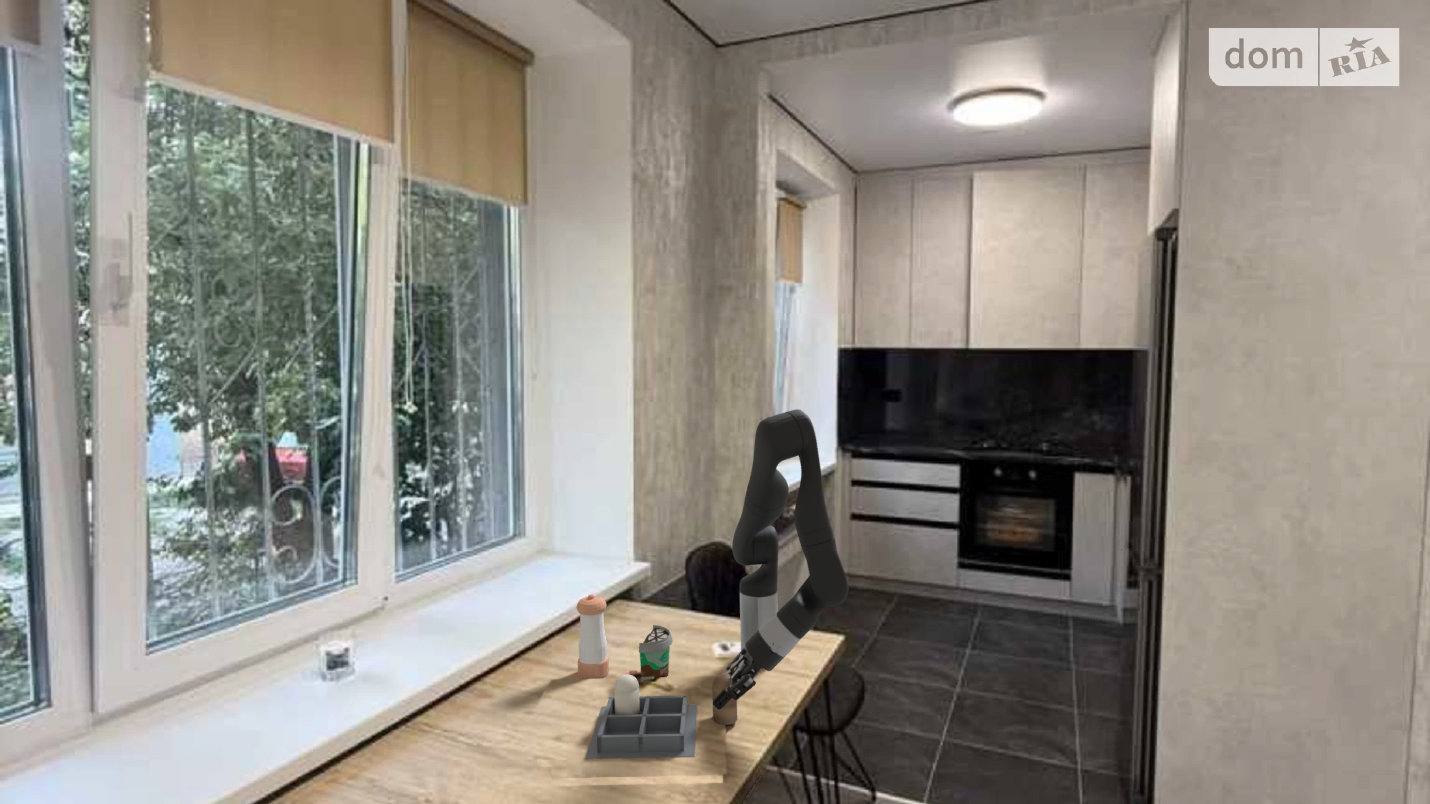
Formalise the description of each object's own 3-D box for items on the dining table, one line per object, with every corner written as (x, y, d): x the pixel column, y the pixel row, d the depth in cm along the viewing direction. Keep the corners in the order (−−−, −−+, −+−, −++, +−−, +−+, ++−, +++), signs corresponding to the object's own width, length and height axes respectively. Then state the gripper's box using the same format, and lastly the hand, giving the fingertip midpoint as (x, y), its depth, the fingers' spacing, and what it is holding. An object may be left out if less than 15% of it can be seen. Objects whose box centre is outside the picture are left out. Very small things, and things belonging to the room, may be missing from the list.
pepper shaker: (572, 677, 177) (569, 597, 175) (588, 665, 183) (586, 588, 182) (598, 681, 174) (596, 601, 172) (614, 669, 181) (612, 591, 179)
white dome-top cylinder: (617, 714, 156) (615, 670, 155) (641, 714, 156) (639, 670, 155) (613, 726, 151) (612, 681, 150) (638, 726, 151) (637, 680, 150)
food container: (665, 688, 170) (664, 645, 169) (639, 686, 171) (638, 643, 170) (679, 665, 182) (678, 625, 181) (654, 663, 183) (653, 624, 182)
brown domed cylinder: (712, 713, 156) (711, 669, 155) (736, 712, 156) (735, 668, 155) (712, 725, 151) (711, 679, 150) (737, 724, 151) (736, 679, 150)
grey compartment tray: (601, 710, 160) (601, 692, 159) (697, 709, 160) (696, 690, 159) (585, 763, 139) (584, 743, 139) (694, 761, 139) (694, 741, 139)
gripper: (757, 616, 159) (702, 671, 160) (762, 643, 145) (701, 704, 146) (783, 639, 160) (727, 695, 161) (790, 669, 145) (729, 729, 146)
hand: (715, 699), depth 153 cm, fingers closed on brown domed cylinder, 5 cm apart
